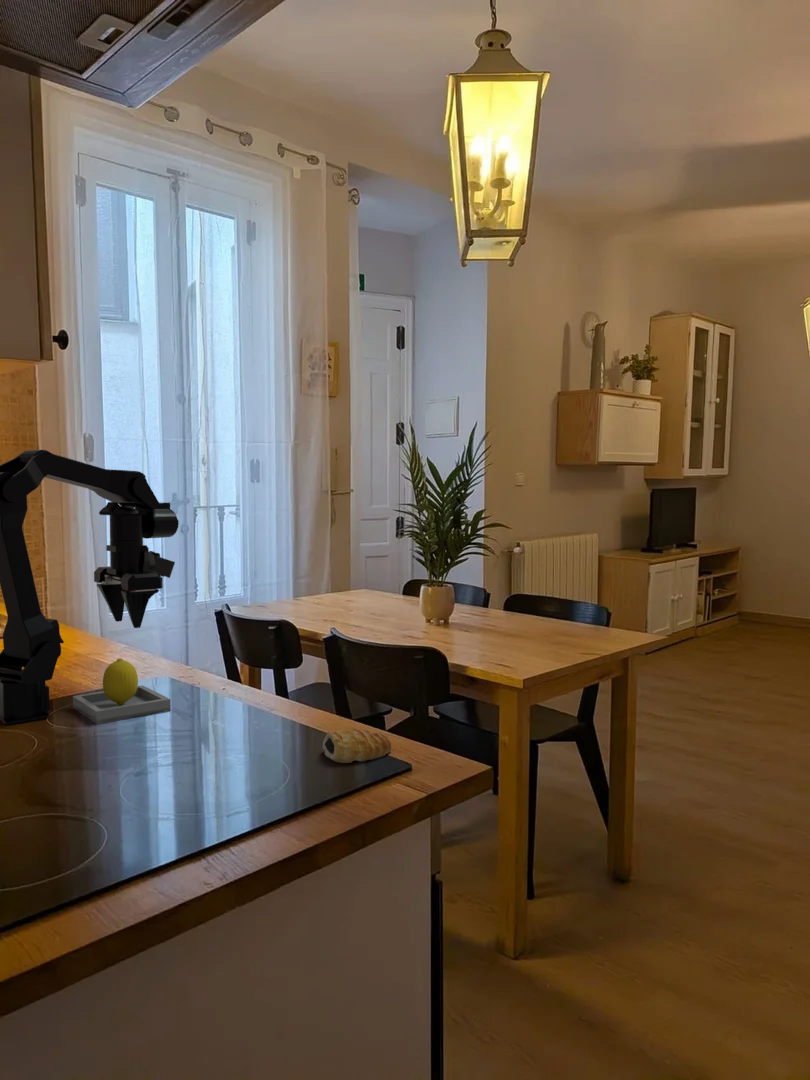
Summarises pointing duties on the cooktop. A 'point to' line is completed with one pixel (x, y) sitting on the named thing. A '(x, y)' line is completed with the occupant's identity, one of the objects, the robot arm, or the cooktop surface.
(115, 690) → the lemon
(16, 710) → the robot arm
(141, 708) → the dish
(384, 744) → the pastry
